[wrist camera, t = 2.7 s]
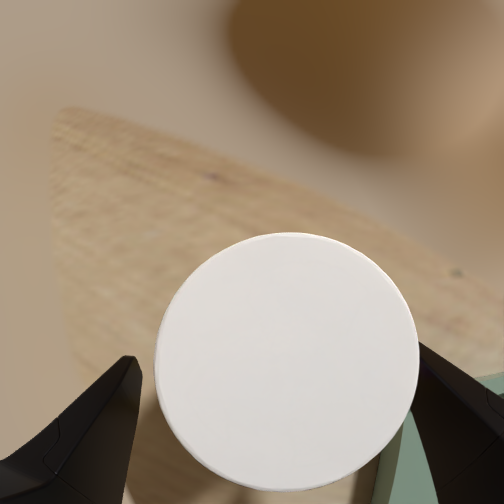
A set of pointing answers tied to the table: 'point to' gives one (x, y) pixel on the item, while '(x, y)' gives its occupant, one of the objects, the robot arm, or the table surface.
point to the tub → (413, 461)
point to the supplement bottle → (286, 362)
